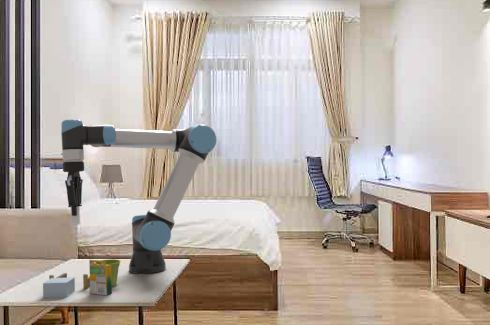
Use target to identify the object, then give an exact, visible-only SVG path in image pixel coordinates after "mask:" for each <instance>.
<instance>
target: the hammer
mask: <svg viewBox="0 0 490 325" xmlns="http://www.w3.org/2000/svg"><path fill="white" fill-rule="evenodd" d="M48 278H49V279H51V278H68V273H67V272H63V273H62V274H59V275H58V276H57V277H55V275H54V274H49V276H48ZM49 279H48V280H49ZM82 279H83V280H82V281H83V282H82V283H83V290H88V289H90V275H89V274H88V273H84V274H82Z"/></svg>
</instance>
